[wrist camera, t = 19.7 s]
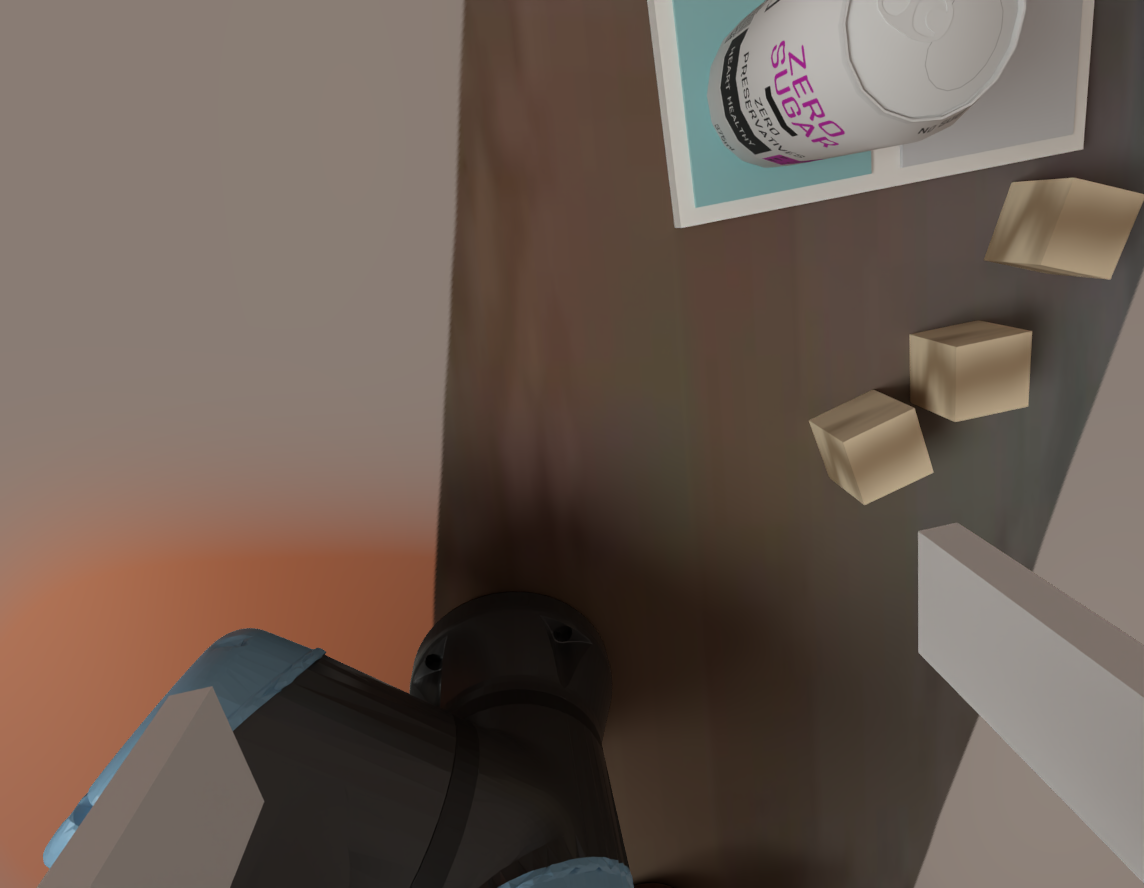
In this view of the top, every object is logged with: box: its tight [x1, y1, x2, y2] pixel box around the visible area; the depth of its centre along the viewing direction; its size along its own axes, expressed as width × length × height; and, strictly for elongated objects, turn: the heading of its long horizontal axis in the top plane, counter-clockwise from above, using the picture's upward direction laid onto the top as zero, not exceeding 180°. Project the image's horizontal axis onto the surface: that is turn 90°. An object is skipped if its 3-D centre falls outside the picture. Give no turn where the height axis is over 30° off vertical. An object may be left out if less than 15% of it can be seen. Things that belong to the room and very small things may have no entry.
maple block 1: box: [809, 390, 934, 505], centre depth 45 cm, size 5×5×5 cm
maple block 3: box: [984, 178, 1144, 280], centre depth 42 cm, size 5×5×5 cm
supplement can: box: [707, 0, 1026, 168], centre depth 31 cm, size 8×8×15 cm
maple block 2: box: [910, 320, 1032, 422], centre depth 44 cm, size 5×5×5 cm
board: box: [647, 0, 1094, 228], centre depth 39 cm, size 15×26×2 cm, turn 100°
